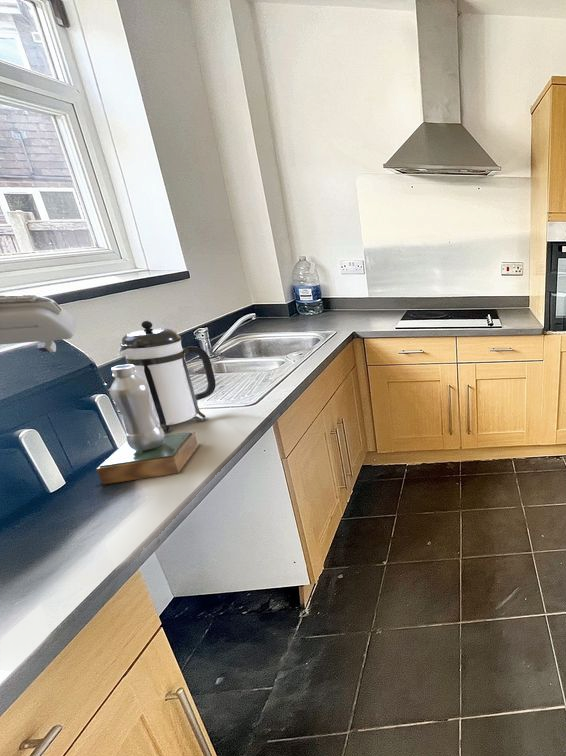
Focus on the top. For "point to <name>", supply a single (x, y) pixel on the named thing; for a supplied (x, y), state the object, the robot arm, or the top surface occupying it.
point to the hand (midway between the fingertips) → (10, 352)
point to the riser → (148, 459)
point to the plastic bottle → (136, 409)
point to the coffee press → (166, 373)
